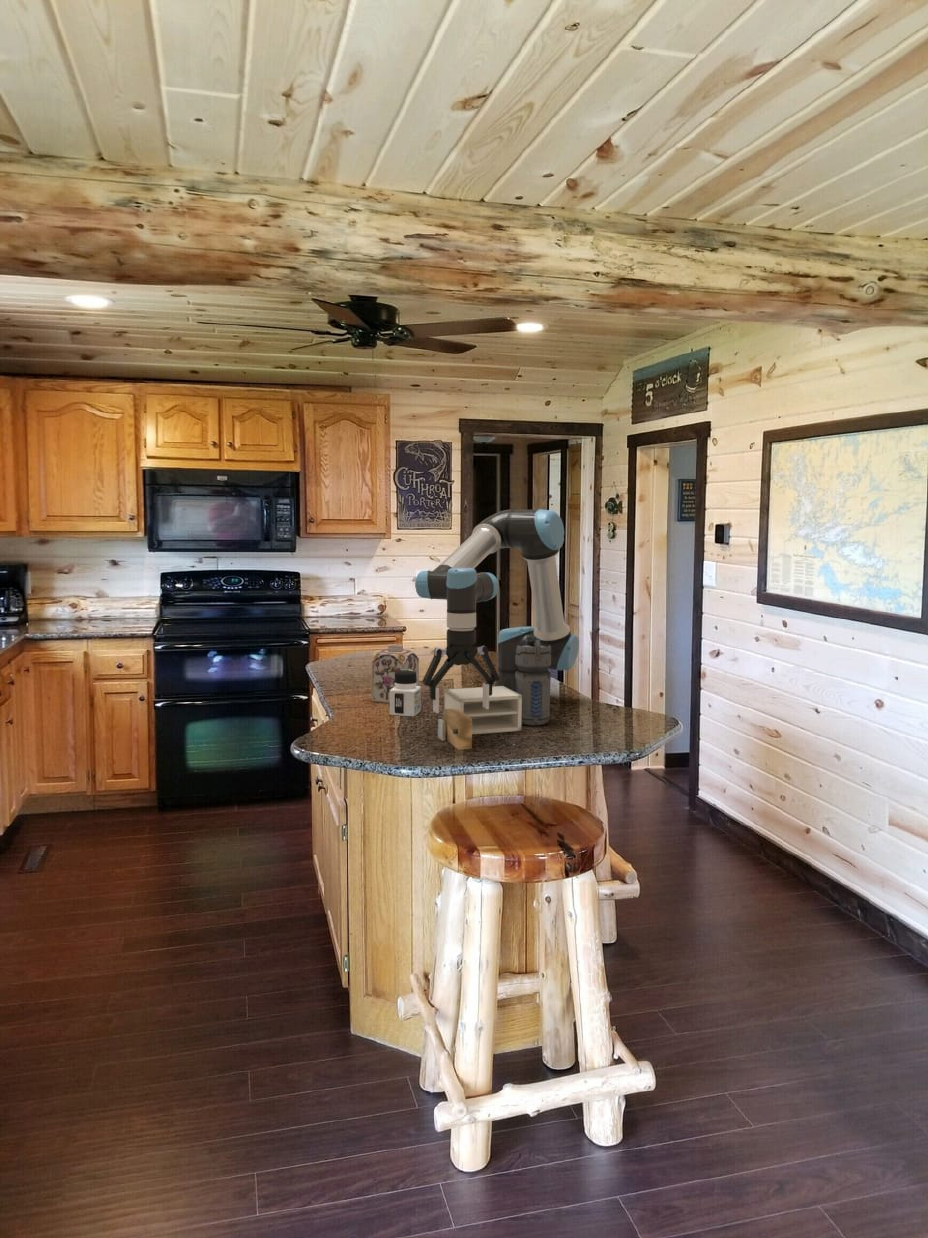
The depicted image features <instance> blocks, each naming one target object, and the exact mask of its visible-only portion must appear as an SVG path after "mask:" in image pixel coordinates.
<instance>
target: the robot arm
mask: <svg viewBox="0 0 928 1238" xmlns="http://www.w3.org/2000/svg"><path fill="white" fill-rule="evenodd" d="M564 536H565V528H564V523H563V520H562V518H561V517H560V515H559V513H557V512H556V511H554V510H552V509H543V508H539V509H505V510H504V509H503V510H501V511H497V512H496V513H494V514H492V515H490V516H488V517H486V518H485V519H483V520H482V521H481V522H479V523H478V524H477V525H476V526H475V527H474V528H473V530H472V532H471V535H470V536H469V537H467V539H466V540H465V541H464V542H462V543H461V544H460V546H458V547H457V548H456V549H455V550H453V552H452V553H451V554H449V555H448V556H447V557H446V558H445V559H444V560H443V561H442V562H441V563H440V564H439V565H438V566H436V567H435V568H434V569H433V570H421V571H420V572H418V574H417V576H416V577H415V581H414V582H415V583H414V588H415V592H416V594H417V596H418V597H420V598H423V599H430V600H445V601H446V627H447V628H448V629H447V630H446V646H445V647H446V648H439V647H435V648H434V649H433V650H434V652H433V657H432V660H431V662H430V664H429V666H428V668H427V671H426V672H425V674H424V676H423V679H422V681H421V683H422V684H423V685H424V686H426V687H429V688H428V689H429V690H428V691H429V692H428V693H429V699H430V700H432V710H433V712H434V713H435V714H439V713H440V687H438V684H439V683H440V682H441V681H442V680H443V678H444V677H445V675H446V674H447V673H448V672H449V670H451V668H453V667H454V666H455V665H456V666H461V665H464V666H467V665H468V666H469V664H470V665H471V666H472V667H473V668H474V670H476V671H477V673H478V674H479V675H480V677H482V678H483V680H484V681H485V682H482V687H483V707H484V708H485V709H489V696H491V695H492V687H493V686H504V687H506V688H508V689H510V690H512V691H514V692H515V672H516V671H517V670H519V669H518V667H517V665H516V661H515V656H516V649H517V646H518V645H519V646H525V639H526V637H530V636H531V637H532V638H534V641H535V639H540V646H545V647H548V646H549V645H550V646H551V666H550V667H549V669H548V670H556V671H569V670H571V669H572V668H573V667H574V665H575V664H576V660H577V658H578V653H579V650H580V649H579V648H580V640H579V637H578V635H577V634H574V633H572V634H571V628H570V625H569V624H567V623H566V622H565V619H564V612H563V604H562V597H561V590H560V581H559V575H558V567H557V563H556V562H557V561H556V556H557V555H558V554H559V553H560V549H561V548H562V547H563V544H564V541H565V537H564ZM500 549H519V551H520V556H521V558H522V559H524V560H525V561H526V562H527V569H528V575H529V583H530V588H531V595H532V603H533V607H534V613H535V621H536V627H535V628H534V626H516V627H509V628H504V629H501V630H500V631H499V633H498V639H497V670H496V668H495V666H494V663H493V661H492V659H491V657H490V655H489V647H487V646H485V645H482V644H481V646H477V630H476V629H475V628H477V603H480V602H488V601H489V600H492V599H493V598H495V597H496V596H497V595H498V593H499V590H500V584H499V580H498V578H497V577H496V576H495V575H494V574H493V573H491V572H486V571H485V572H482V571H481V572H477V570H476V567H478V566H479V564H481V562H483V560H485V558H487V556H489V555H490V554H494V553H496V552H497V551H498V550H500ZM534 645H535V644H534ZM477 654H479V655H480V656H481V658H482V661H483V662H484V664H485V666H486V668H487V671H488V672H489V674H490V675H489V674H488V672H486V670H485V669H484V668H483V667H482V666H481V664H480V663H479V661H478V660H477V659H476V658H475V657H476V655H477ZM445 655H446V657H447V658H446V659H445V660H444V662H443V664H442V666H441V667H440V668H439V669H438V666H439V665H440V662H441V660H442V658H443V657H444V656H445ZM437 669H438V671H437ZM436 671H437V672H436ZM434 674H435V675H434Z"/></svg>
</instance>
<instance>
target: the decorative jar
mask: <svg viewBox="0 0 928 1238" xmlns="http://www.w3.org/2000/svg"><path fill="white" fill-rule="evenodd" d="M403 647H404V646H403V644H395V643H391V644H388V645H387V648H385V649H381V650H377V652H376V653H375V655H374V657H373V658H372V660H371V702H374V703H380V704H381V703H382V704H390V690H391V689H392V688H394V687H395V672H396V671H398V670H413V671H415V672H416V686H420V667H419V666H420V662H419V661H420V660H419V659H420V658H419V657H418V655H417V654H416V652H414V651H413V650H410V649H403Z"/></svg>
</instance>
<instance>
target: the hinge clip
mask: <svg viewBox="0 0 928 1238" xmlns="http://www.w3.org/2000/svg"><path fill="white" fill-rule="evenodd" d="M445 727H446V722H445V721H444V718H438V719H437V738H438V739H439V740H441V742H446V739H445Z"/></svg>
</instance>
